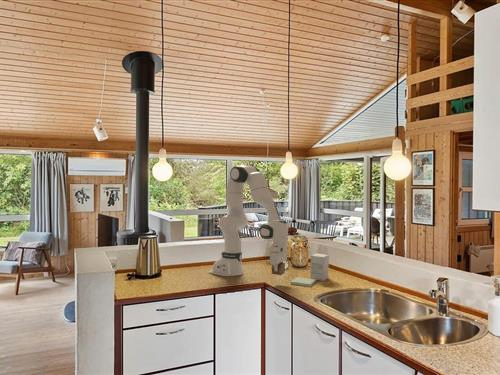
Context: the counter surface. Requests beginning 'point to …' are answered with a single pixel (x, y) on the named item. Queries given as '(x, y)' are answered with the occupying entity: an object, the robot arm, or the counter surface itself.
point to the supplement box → (319, 267)
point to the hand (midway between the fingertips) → (278, 269)
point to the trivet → (303, 281)
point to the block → (279, 269)
